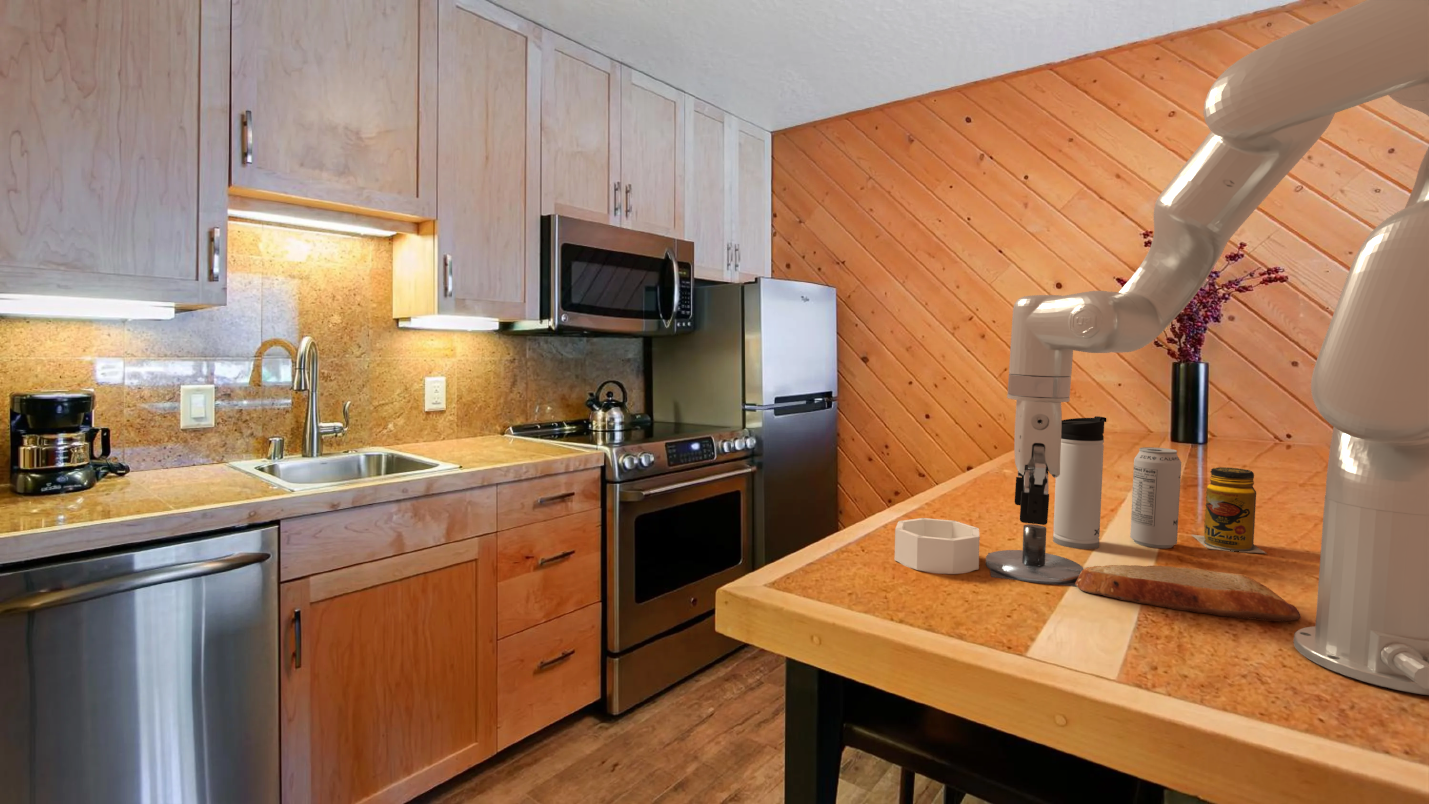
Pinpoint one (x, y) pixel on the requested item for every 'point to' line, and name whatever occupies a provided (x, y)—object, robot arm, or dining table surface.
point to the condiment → (1230, 511)
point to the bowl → (937, 546)
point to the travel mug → (1079, 483)
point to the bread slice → (1188, 591)
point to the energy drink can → (1155, 497)
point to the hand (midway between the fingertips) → (1029, 513)
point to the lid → (1034, 561)
